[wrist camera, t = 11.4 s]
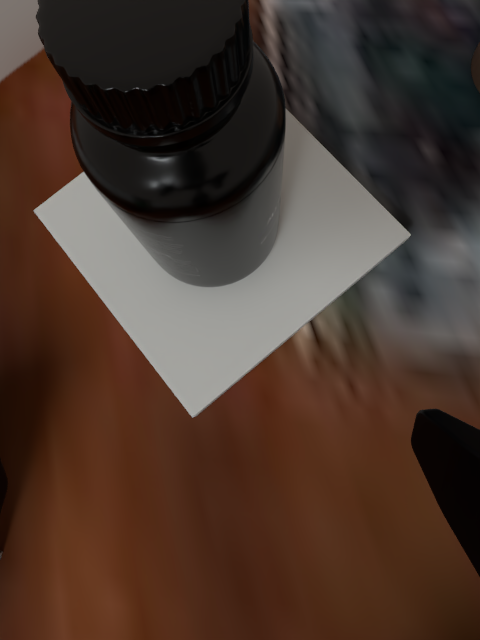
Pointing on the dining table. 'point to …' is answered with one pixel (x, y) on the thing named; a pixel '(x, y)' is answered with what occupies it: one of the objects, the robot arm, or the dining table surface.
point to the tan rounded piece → (476, 67)
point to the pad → (242, 296)
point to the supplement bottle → (175, 126)
